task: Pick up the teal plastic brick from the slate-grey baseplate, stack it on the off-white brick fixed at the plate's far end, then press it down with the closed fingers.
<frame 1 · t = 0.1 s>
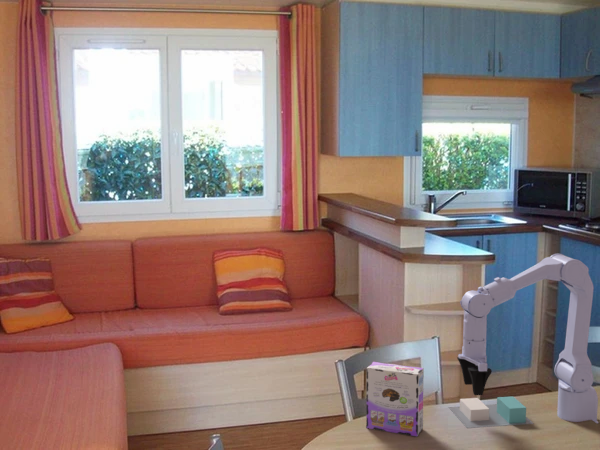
hand: (473, 389, 190), 10 cm above the table, fingers open, 7 cm apart
candy box: (394, 429, 190), on the table
baseplate: (489, 418, 196), on the table
teal brick: (510, 416, 195), point 1 cm above the table, touching baseplate
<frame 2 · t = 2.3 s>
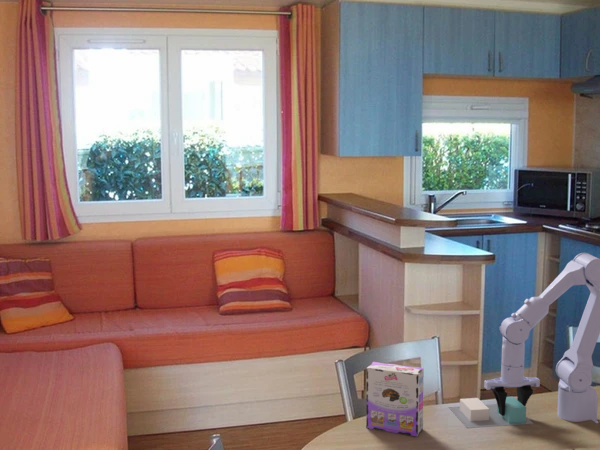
hand: (511, 413, 195), 2 cm above the table, fingers closed on teal brick, 4 cm apart
teal brick: (510, 416, 195), point 1 cm above the table, touching baseplate, gripper
everything else where it was.
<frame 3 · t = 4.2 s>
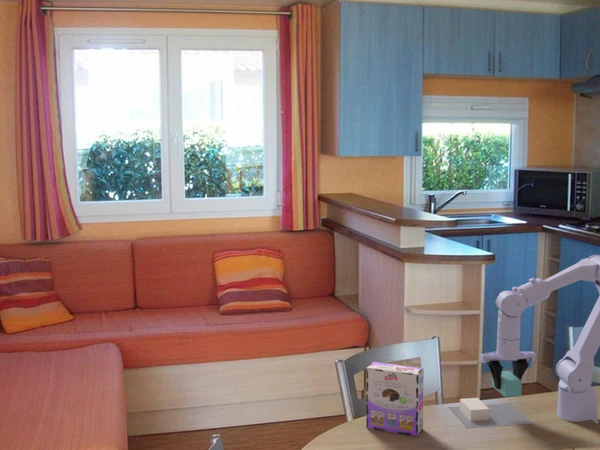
hand: (506, 387, 194), 9 cm above the table, fingers closed on teal brick, 4 cm apart
teal brick: (506, 390, 194), point 8 cm above the table, touching gripper
everything else where it was.
when the fingers open (6 cm above the table, at t = 6.4 s): teal brick stays where it is, resting on baseplate.
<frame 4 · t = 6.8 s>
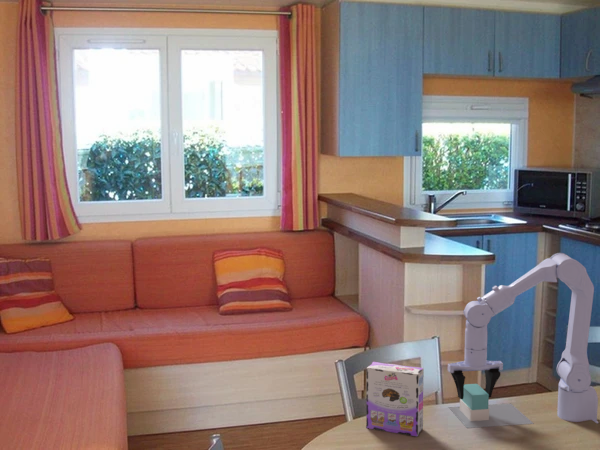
hand: (474, 396, 196), 6 cm above the table, fingers open, 7 cm apart
teal brick: (474, 403, 196), point 4 cm above the table, touching baseplate
everything else where it was.
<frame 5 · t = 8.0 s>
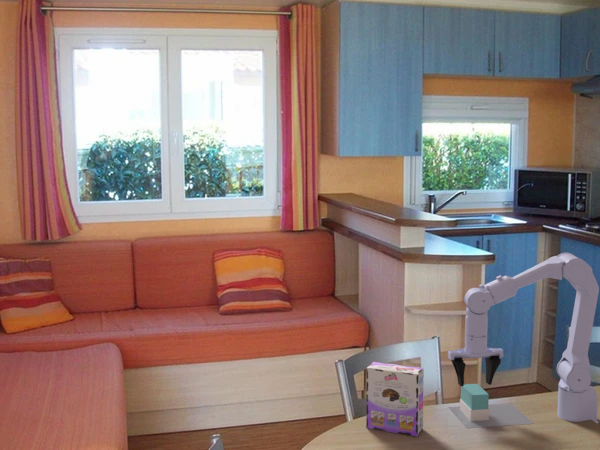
hand: (474, 384, 195), 9 cm above the table, fingers open, 7 cm apart
nothing on the table moved.
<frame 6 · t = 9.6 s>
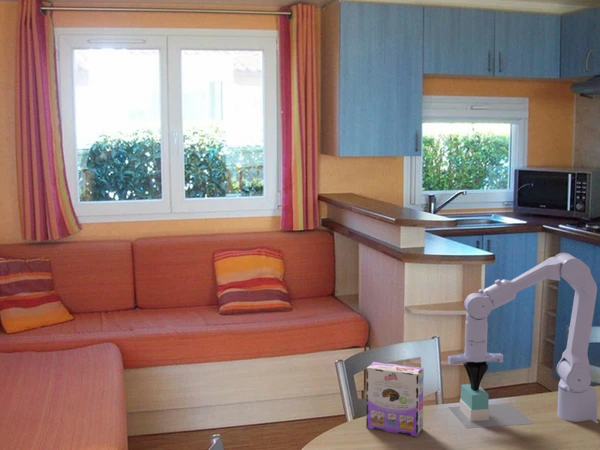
hand: (474, 389, 195), 8 cm above the table, fingers closed
nothing on the table moved.
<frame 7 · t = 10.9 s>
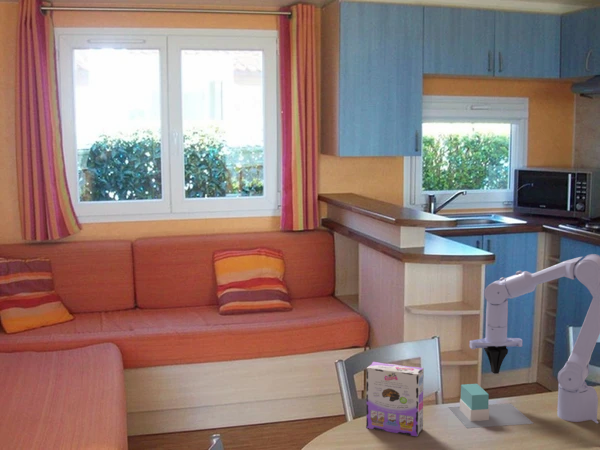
hand: (495, 372, 204), 9 cm above the table, fingers closed
nothing on the table moved.
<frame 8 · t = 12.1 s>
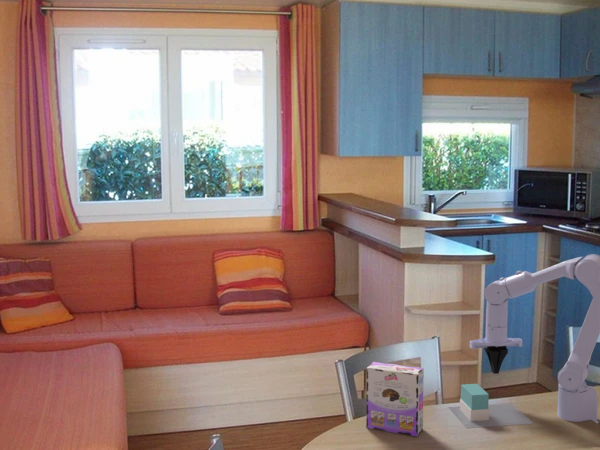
hand: (495, 372, 204), 9 cm above the table, fingers closed
nothing on the table moved.
at the end: teal brick 0.0 cm from the target spot on the baseplate, point 4.0 cm above the baseplate's base; teal brick tilted 0°; the gripper is holding nothing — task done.
